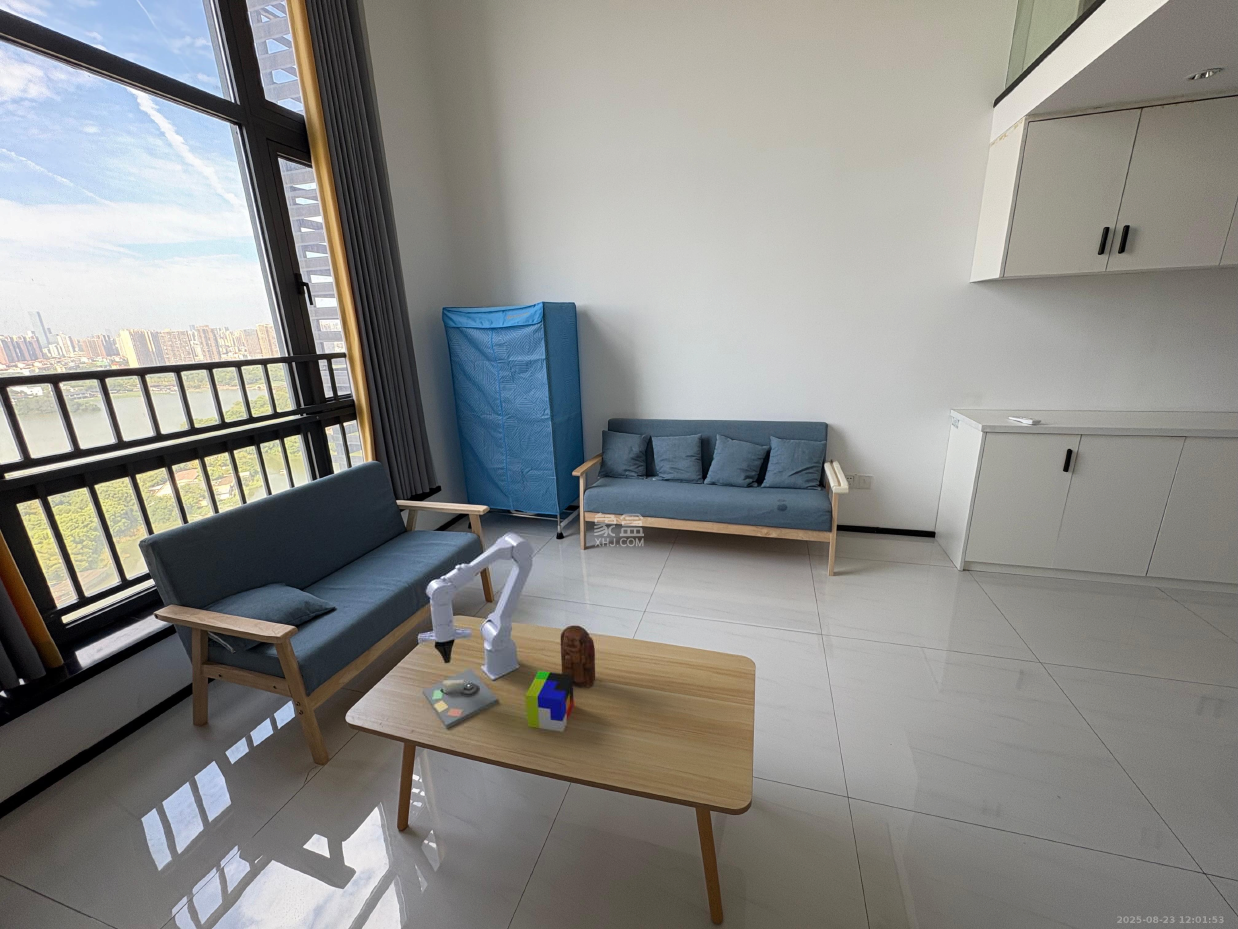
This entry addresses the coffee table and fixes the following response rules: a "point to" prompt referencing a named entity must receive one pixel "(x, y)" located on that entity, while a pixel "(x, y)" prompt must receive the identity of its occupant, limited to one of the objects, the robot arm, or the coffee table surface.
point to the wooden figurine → (578, 656)
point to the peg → (458, 687)
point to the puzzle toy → (550, 701)
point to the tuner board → (459, 699)
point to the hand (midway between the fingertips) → (447, 661)
